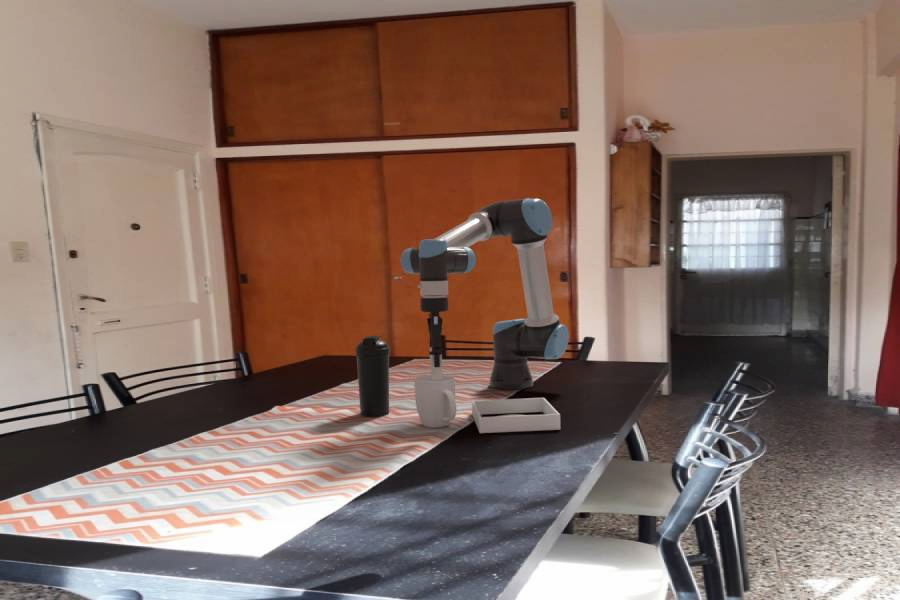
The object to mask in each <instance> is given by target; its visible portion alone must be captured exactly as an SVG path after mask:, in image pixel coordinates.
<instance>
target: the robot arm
mask: <svg viewBox="0 0 900 600" xmlns="http://www.w3.org/2000/svg"><path fill="white" fill-rule="evenodd" d="M552 225H553V216H552V212H551V209H550V208H549V206H548V204H547V203H546V202H545V201H544V200H543V199H540V198H521V199H511V200H499V201H496V202H494V203H491V204H488V205H486V206H484V207H482V208H481V209H479V210H477V211H474V212H473V213H471V214H470V215H469V216H468V217H467V220H466V221H464V222H462V223H460V224H458V225H457V226H455V227H453V228H451V229H449V230H447V231H446V232H444V233H442V234H441V235H439V236H437V237H435V238H433V239H432V238H430V239H427V238H426V239H422V240H420V241H419V247H411V248H410V247H409V248H406V249H405V250H403V251H402V253H401V256H400V265H401V268H402V270H403V271H404V272H405V273H406V274H412V275H419V283H420V284H417V288H418V289H419V291H420V294H419V295H420V296H422V297H421V298H420V300H419V301H420V304H419V305H420V311H421V312H423V313H428V316H429V317H427V318H426V319H427V320H426V323H427V328H428V334H429V341H428V343H429V345H428V346H429V351H428V354H429V366H430V367H429V371H430V372H431V375H432V380H438V379H442V375H443V349H442V348H443V347H442V333H443V317H441V316H440V313H441V312H442V313H443V312H447V311H448V310H449V298H448V297H447V296H448V295H449V281H448V280H449V279H448V275H449V274H451V275H452V274H453V275H454V274H461V275H462V274H466V273H467V274H468V273H470V272H472V270H474V268H475V267H476V266H475V265H476V261H477V258H476V255H475V252H474V251H473V250H472V248H470V247H471V246H473V245H475V244H476V243H478V242H484V241H485V242H486V241H487V240H489V239H491V238H498V237H501V238H503V237H510V242H511V243H510V244H511V245H513V246H514V247H515V248H516V250H517V256H518V262H519V269H520V277H521V280H522V282H521V283H522V287H523V293H524V294H523V295H524V300H525V307H526V312H527V317H526V318H517V319H510V320H502V321H497V322H495V323H494V324H493V332H492V337H493V338H492V339H493V367H492V370H491V374H490V377H489V387H490V388H493V389H498V390H521V389H522V390H524V389H527V388H531V387H533V386H534V380H533V375H532V373H531V371H530V370H531V369H530V367H529V364H528V358H532V359H544V360H558V359H560V358H561V357H563V356H564V354H565V353H566V350H567V347H568V344H569V338H570V336H569V330H568V328H567V326H566V325H565V324H562V323H561V322H560V318H559V317H560V316H558V314H555V313H554V308H553V307H554V306H553V299H552V293H551V286H550V280H549V279H550V278H549V272H548V267H547V258H546V252H545V247H544V246H545V245H544V243H545V242H546V240H547V239H548V234H549V233H550V232H551V231H552V228H553V227H552Z"/></svg>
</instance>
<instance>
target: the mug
mask: <svg viewBox="0 0 900 600" xmlns="http://www.w3.org/2000/svg"><path fill="white" fill-rule="evenodd" d="M414 398H415V406H416V410H417V415H418V418H419V419H420V422H421V424H422V425H423V426H424V427H425V428H431V429H437V428H445V427H447V426H448V425H449V424H450V422H451V421H453V420H454V419H455V418H456V415H457V402H456V379H455V376H453V375H449V374H442V379H438V380H432V374H425V375H420V376H417V377H415V378H414Z"/></svg>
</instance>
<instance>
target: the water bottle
mask: <svg viewBox="0 0 900 600" xmlns="http://www.w3.org/2000/svg"><path fill="white" fill-rule="evenodd" d="M381 337H382V335H366V336H365V337H363V338H362V340H361V341H360V342H359V343H358V344H356V347H355V348H354V349H355V350H354V354H355V357H356V366H357V379H358V382H357V383H358V393H359V394H358V395H359V396H358V397H359V409H360V410H359V412H360V415H361V416H362V417H366V418H374V417H375V418H376V417H377V418H378V417H384V416H386V415H389V414H390V354H391V353H390V352H391V348H390V347H391V346H389V344H388V343H387V342H386V341H385V340H382V339H380V338H381Z"/></svg>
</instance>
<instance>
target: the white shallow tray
mask: <svg viewBox="0 0 900 600" xmlns="http://www.w3.org/2000/svg"><path fill="white" fill-rule="evenodd" d="M518 413H519V414H518ZM523 413H524V414H523ZM527 413H543V414H527ZM500 414H503V415H500ZM526 414H527V415H526ZM471 415H472V418H473V421H474V423H475V424H476V428H477V431H478V432H479V434H487V433H488V434H491V433H510V432H511V433H513V432H533V431H534V432H536V431H555V430H557V431H558V430H560V431H561V413H559V412H558V410H556V408H554V406H552V404H551V403H550V402H549V401H548V400H547V399H546V398H545V397H532V398H531V397H529V398H507V399H502V398H501V399H484V400H483V399H481V400H471ZM481 415H497V416H481Z"/></svg>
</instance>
